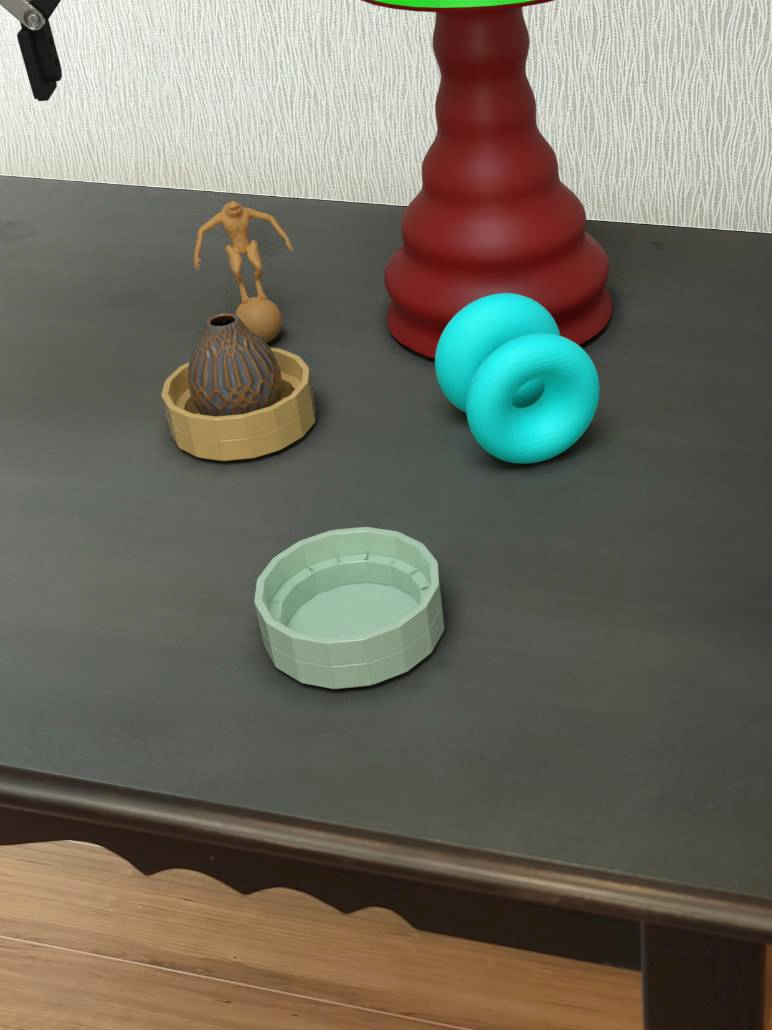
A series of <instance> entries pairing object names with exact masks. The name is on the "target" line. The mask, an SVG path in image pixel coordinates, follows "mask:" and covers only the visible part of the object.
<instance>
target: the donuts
mask: <svg viewBox="0 0 772 1030" xmlns="http://www.w3.org/2000/svg"><path fill="white" fill-rule="evenodd" d="M434 370H435V376H436V380H437V383H438V385H439V388H440V390H441V391H442V393H443V395H444V396H445V398H446V399H447V400H448V401H449V403H451V404H452V405H453V406H455V408H457V409H459V410H460V411H462V412H464V413H465V414H466V419H467V424H468V428H469V430H470V433H471V434H472V436H473V438H474V439H475V440H476V442H477V443H478V445H479V446H480V447H481V448H482V449H483V450H484V451H486V452H487V453H488V454H490V455H491V456H493V457H495V458H497V459H499V460H501V461H504V462H507V463H513V464H525V465H526V464H536V463H540V462H541V463H542V462H544V461H547V460H549V459H553V458H554V457H557V456H558V455H560V454H562V453H564V452H565V451H567V450H568V449H570V447H572V446H574V444H575V443H576V442H577V441H578V440H579V439H581V437H582V436H583V435H584V433H586V431H587V430H588V428H589V426H590V425H591V424H592V421H593V420H594V417H595V415H596V412H597V408H598V404H599V400H600V379H599V374H598V371H597V369H596V365H595V364H594V362H593V360H592V358H591V357H590V356H589V354H588V353H587V351H586V350H585V349H584V348H582V347H581V345H580V346H579V345H577V344H576V343H574V342H573V341H571V340H569V339H567V338H565V337H562V336H560V332H559V329H558V327H557V324H556V322H555V320H554V319H553V317H552V316H551V314H550V313H549V312H548V311H547V310H546V309H545V308H544V307H543V306H542V305H540V304H539V303H538V302H536V301H534V300H532V299H530V298H528V297H525V296H522V295H518V294H512V293H500V294H493V295H489V296H486V297H482V298H480V299H478V300H476V301H474V302H472V303H470V304H468V305H467V306H465V307H464V308H463V309H461V310H460V311H459V312H458V313H457V314H456V315H455V316H454V317H453V318H452V319H451V321H450V322H449V323H448V325H447V326H446V328H445V329H444V331H443V333H442V335H441V337H440V339H439V342H438V345H437V349H436V354H435V360H434Z"/></svg>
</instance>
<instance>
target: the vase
mask: <svg viewBox="0 0 772 1030" xmlns="http://www.w3.org/2000/svg"><path fill="white" fill-rule="evenodd" d="M270 348H271V347H270V346H269V345H268V342H267V343H266V342H265V341H264V340H263V339H262V338H260V337H259V336H258V335H257V334H255V333H254V332H253V331H252V330H250V329H249V328H248V327H246V326H245V325H244V324H243V322H242V321H241V320H240V318H239V317H238V316H237V315H236V314H235V313H233V312H220V313H216V314H213V315H212V316H210V317H208V318H207V320H206V321H205V325H204V329H203V332H202V334H201V335H200V338H199V339H198V341H197V343H196V344H195V346H194V348H193V350H192V352H191V355H190V357H189V361H188V362H189V366H188V385H189V390H190V393H191V397H192V400H193V402H194V405H195V406H196V408H197V410H198V412H199V413H200V415H208V416H228V415H239V414H246V413H249V412H253V411H256V410H259V409H263V408H266V407H270V406H272V405H273V404H275V403H277V402H279V401H281V397H282V377H281V372H280V367H279V365H278V362H277V360H276V357H275V356H274V354H273V352H272V350H271V349H270Z"/></svg>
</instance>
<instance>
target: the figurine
mask: <svg viewBox="0 0 772 1030" xmlns="http://www.w3.org/2000/svg"><path fill="white" fill-rule="evenodd" d="M251 219H254V220H261V221H267V222H270V224H271V226H272V227H273V228H274V229H275V231H276V232H277V233H278V235H279V236H280V237H281V238H282V239H284V240H285V246H286V247H288V249H289V252H293V251H294V248H293V244H292V242H291V239H290V238H289V237H288V235H287V233H286V232H285V230H284V229H282V227H281V226H280V224H279V223H278V222H277V220H276V218H275V217H274V216H273V215H271V214H269V213H265V212H262V211H258V210H255V209H253V208H251V207H245V206H242V205H241V204H240V203H239V202H237V201H235V200H231V201H230V202H227V203H226V204H224V206H222V209H221V210H220V212H217V213H216V214H214V216H213V217H212V218H211V219H209V220H208V221H207V222H205V223H204V224H202V225H201V226H200V227H199V228H198V230H197V235H196V236H197V237H196V243H195V247H194V255H193V266H194V269H195V270H200V269H201V267H200V263H201V264H202V261H201V259H200V258H199V256H200V253H201V250H202V247H203V240H204V234H205V233H207V232H208V231H210V230H212V229H213V228H215V227H217V226H218V225H222V226H223V227H222V228H224V230H225V232H226V233H227V235H228V237H229V239H230V241H231V243H232V245H231V244H227V245H226V246H225V248H224V251H225V253H226V255H227V257H228V261H229V262H228V263H229V267H230V269H231V271H232V272H233V274H234V280H235V282H236V283H238V284H237V285H238V288H239V293H240V297H241V303H239V305H238V307H237V308H236V310H235V313H234V314H236V315H237V316H238V317H239V318H240V320H241V321H242V322H243V324H244V325H245V326H246V327H248V328H249V329H250V330H252V331H253V332H254V333H255V334H257V335H258V336H259V337H260V338H262V339H263V340H264V341H265V342H266V343H267V344H268V343H270V342H271V341H273V340H274V339H275V338H276V337H277V336H279V334H280V332H281V330H282V326H283V316H282V312H281V311H280V309H279V307H278V305H276V304H275V302H273V301H272V300H270V299H268V297H267V295H265V293H264V289H263V286H262V282H261V278H262V277H263V273H262V270H263V263H262V258H261V254H260V253H259V244H258V242H257V241H256V240H255V239H252V240H251V241H250V242H249V237H248V236H249V229H250V220H251ZM245 254H246V257H247V262H248V263H249V264H250V265H252V267H254V269H255V271H254V272H253V277H254V283H255V288H256V289H255V290H256V294H257V296H252V297H249V295H248V291H247V290H246V286H245V283H244V276H243V275H242V274H241V272H242V269H241V268H242V266H243V258H242V256H241V255H245Z"/></svg>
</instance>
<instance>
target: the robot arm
mask: <svg viewBox="0 0 772 1030" xmlns="http://www.w3.org/2000/svg"><path fill="white" fill-rule="evenodd" d="M61 1H62V0H0V6H1V7H2V8H3V9H4V10H6V12H8V13H9V14H10V15H11V16H13V18H15V19H16V20H17V21H19V23H20V27H21V29H20V30H19V31H18V32H17V33H16V38H17V42H18V46H19V49H20V53H21V57H22V60H23V64H24V68H25V72H26V74H27V79H28V81H29V85H30V88H31V93H32V96H33V99H34V100H37V102H48V101H49V100H50V98H51V97H52V96H53V94H54V92H55V91H56V90H57V88H58V82H60V81H61V80H62V78H63V72H62V65H61V61H60V58H59V55H58V54H59V53H58V50H57V46H56V43H55V39H54V36H53V30H52V27H51V23H50V17H51V16H52V15H53V13H54V12H55V10H56V9H57V7H58V6H59V4H60V3H61Z"/></svg>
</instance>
